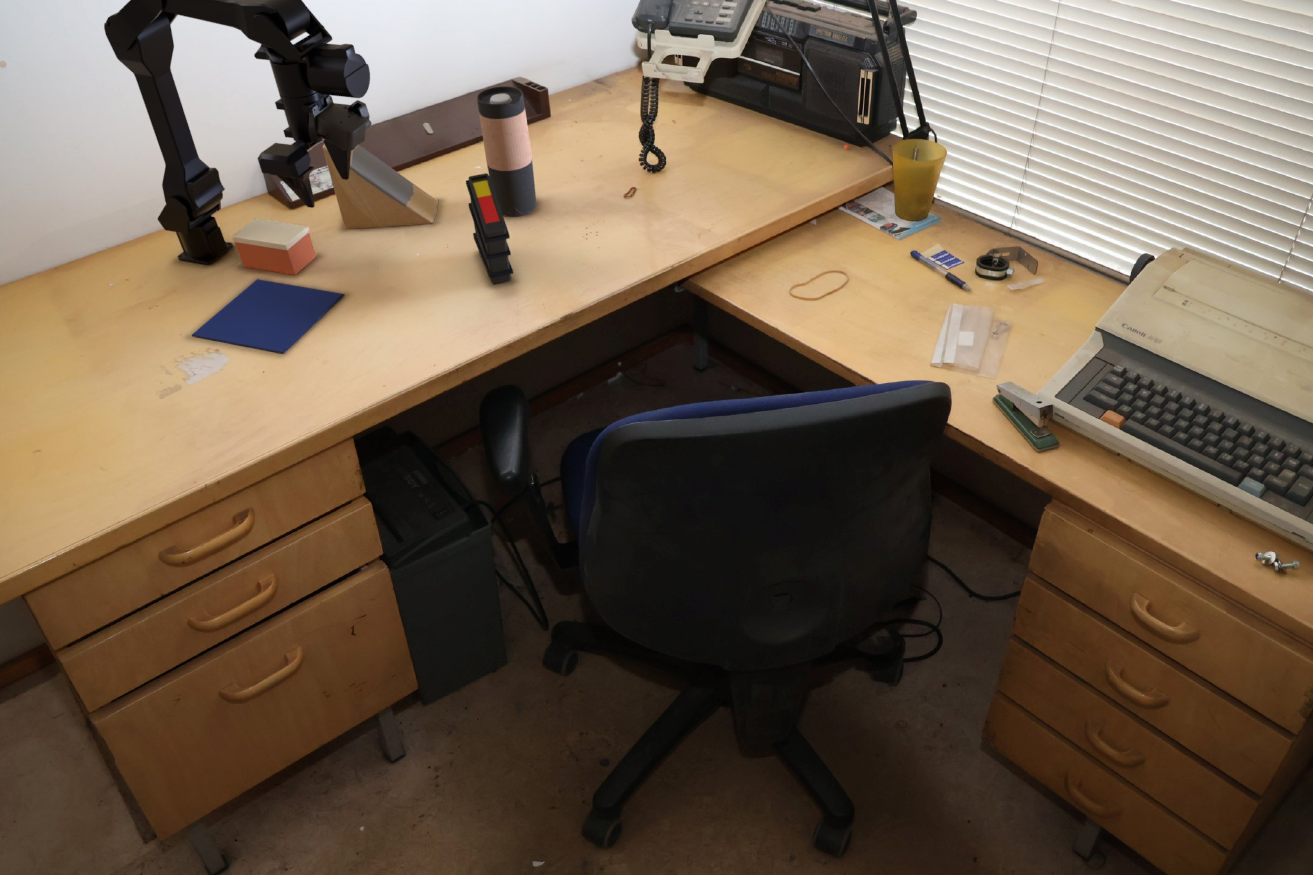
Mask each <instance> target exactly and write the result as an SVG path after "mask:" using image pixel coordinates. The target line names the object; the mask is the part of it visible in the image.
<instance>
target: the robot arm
mask: <svg viewBox="0 0 1313 875" xmlns="http://www.w3.org/2000/svg"><path fill="white" fill-rule="evenodd" d="M178 16H182V17H186V18H191V19H195V20H199V21H203V22H208V23H211V24H217V25H221V26H225V27H230V28H233V29H236V30H238V31H240V32H241V33H242V34H243V35H244V36H245V37H246V38H247V39H248V40H250V41H253V42H255V43H257V44H260V46H259V47H258V49H257V50H256V52H255V53H254V54H253V56H254V58H255V59H256V60H264V61H269V64H270V67H271V70H272V74H273V78H274V81H275V85H276V88H277V91H278V95H279V99H277V100H276V101H275V102H274V104H275V108H276V110H278V111H279V110H281V111H284V115H285V119H286V123H287V127H286V128H285V129H283V134H284V137H285V138H289V139H290V138H291V139H293V141H294V142H293V143H291V144H290V143H289V144H288V143H281V142H274V143H273V144H272V145H270V146H268V147H267V148H266V149H264V150H263V151H261V152H260V154H259V155H258V157H257V162H258V165H259V168H260V172H261V173H262V174H267V175H270V176H276V177H277V178H279V179H280V180H281V181H282V182H283V183H284V184H285V185H286V186H287V187H288V188H289V189H290V190H291V191H292V192H293V193H294V194H295V195H296V196H297V197H298V198H299V200H300V201H301V202H302V203H303V204H304V205H305V206H306V207H307V208H311V209H313V208H315V205H316V204H315V198H314V193H313V189H312V188H313V187H312V184H311V178H310V175H311V173H312V172H313V170H314V168H315V166H311V161H312V159H311V154H310V152H311V150H313V149H314V148H316V147H317V146H318V145H320V144H321V143H322V142H323V145H324V144H325V146H326V148H327V150H328V152H329V155H330V157H331V159H332V161H333V163H334V165H335V167H336V169H337V171H338V173H339V175H340V176H341V178H342V179H344V180H348V179H349V173H350V159H351V151H352V150H354V149H355V147H356V146H357V145H360V144H362V143H364V142H365V141H366V132H367V129H368V128H370V127H371V126H372V124H373V122H372V121H371V120H370V118H371V115H370V112H369V109H368V106H367V104H366V103H365V102H364V101H361V100H359V99H361V98H363V97H365V95H366V94H367V93H368V90H369V87H370V84H371V83H370V82H371V72H370V67H369V66H370V65H369V64H368V63H367V62H366V60H365V57H363V55H361V54H359V53H357V52H356V49H355V46H354V45H353V44H352V43H342V44H338V43H337V44H336V43H330V42H332V41H333V36H332V35H331V34H330V33H329V32H328V30H327V29H326V28H325V26H324V25H323V24H322V23H321V22H320V21H319V19H318V18H317V17H316V16H315V15H314V14H313V12H312V11H311V10H310V8H309V7H308V6H307V5H306V4H305V2H304V1H303V0H129V1H128V2H126V4H125V5H123V7H122V8H120V9H119V10H118V12H116V13H113V14H111V15H109V16H108V17H107V19H106V20H105V22H104V24H103V30H104V34H105V37H106V38H107V41H108V43H109V45H110V47H111V49H112V51H113V53H114V54H115V55H114V56H115V57H116V59H117V60H118V61H119V62H120V64H121V63H122V65H123V66H124V67H126V68H127V69H128V70H129V71H130V72H131V73H132V74H133V75H134V78H135V80H136V84H137V86H138V89H139V92H140V95H141V98H142V100H143V104H144V106H145V109H146V112H147V115H148V119H149V121H150V123H151V126H152V130H153V132H154V134H155V135H154V136H155V138H156V141H157V143H158V146H159V150H160V152H161V156H162V158H163V162H164V166H165V167H164V172H163V177H162V183H161V188H162V192H163V197H164V202H165V205H164V207H163V208H162V210H161V212H160V213H159V215H158V216H157V221H158V222H159V224H160V225H161V227H162V228H163V230H165V231H167V232H173V233H175V234H176V237H177V240H178V243H179V244H180V247H181V250H182V251H183V252H181V253H180V254H178V255H177V260H179V261H185V262H190V263H197V264H202V265H210V264H213V262H215V261H216V260H217V259H218V258H220V257H221V256H222V255H224V254H225V253H226V252H227V251H229V250H230V249H231V248H233V247H234V245H233V243H232V242H230V241H226V240H225V237H224V235H223V231H222V230H221V227H220V226H219V225H218V222H217V219H216V217H215V216H213V215H214V214H216V213H217V212H219V211H221V210H222V200H223V197H224V191H225V190H226V188H225V187H224V185H223V184H222V181H221V178H220V172H219V170H218V168H216V167H210V166H209V165H208V164H206V163H205V162H204V161H203V160H202V159H201V158H200V156H199V154H198V151H197V147H196V145H195V142H194V138H193V135H192V132H191V128H190V126H189V123H188V119H187V116H186V113H185V110H184V107H183V104H182V100H181V97H180V94H179V91H178V89H177V85H176V82H175V79H174V76H173V73H172V69H171V66H172V60H173V59H172V58H173V55H174V50H175V43H174V37H173V32H172V31H173V30H172V23H173V22H174V21H175V19H176V18H177V17H178ZM305 33H306V34H308V35H306V36H305V37H303V38H301V39H300V40H299V41H297V42H295V43H292V41H294V40H295V39H297V38H298V37H300V36H302V35H303V34H305ZM333 96H335V97H342V98H351V99H356V100H355V101H354V102H352V103H351V104H345V103H338V102H337V103H336V102H334V100H333Z"/></svg>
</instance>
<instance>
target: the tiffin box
mask: <svg viewBox="0 0 1313 875" xmlns="http://www.w3.org/2000/svg"><path fill="white" fill-rule="evenodd" d="M231 238H232V241H233V242H234V243H235V244H234V245H235V247H236V250H237V253H238V256H239V257H240V260H241V264H242V266H243V268H249V269H254V270H260V271H261V270H262V271H268V272H274V273H280V274H286V275H292V276H297V274H299V272H302V270H303V269H304V268H306V266H308V265H309V264H310V263H311V262H312V261H314V259H316V257H317V255H316V251H315V248H314V244H313V241H312V238H311V233H310V228H309V226H308V225H301V224H296V223H288V222H282V221H276V220H269V219H262V218H254V219H253V220H252V221H250V222H249V223H248V224H246V225H245V226H243V227H242V228H241V229H240V230H238V231H237V232H236V233H234V235H232V236H231Z"/></svg>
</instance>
